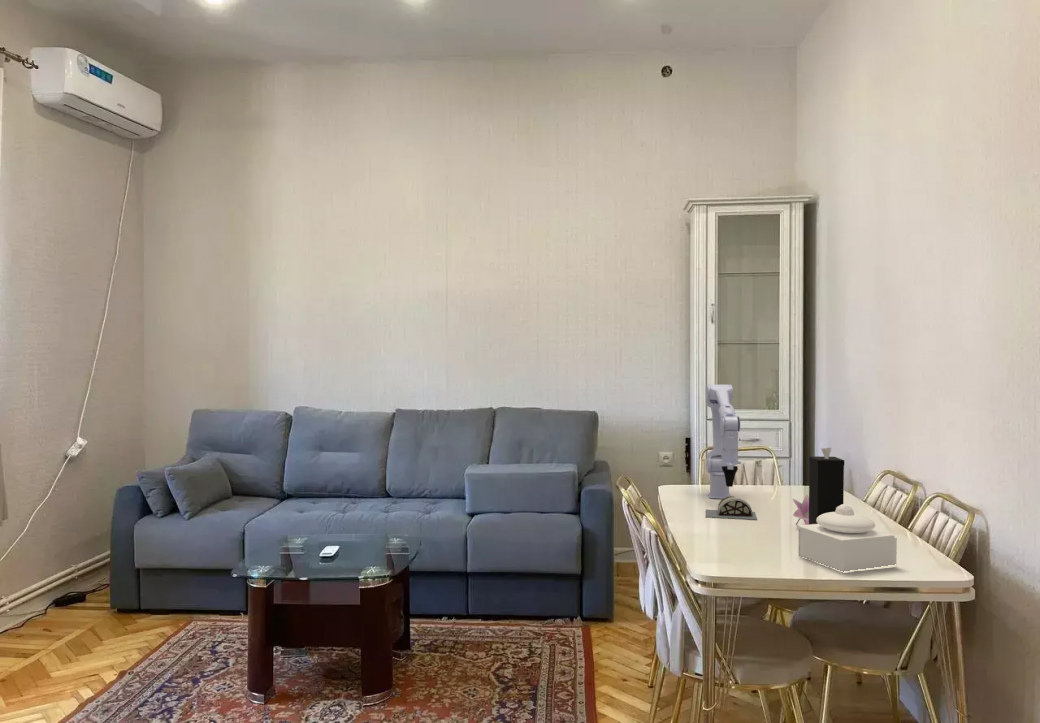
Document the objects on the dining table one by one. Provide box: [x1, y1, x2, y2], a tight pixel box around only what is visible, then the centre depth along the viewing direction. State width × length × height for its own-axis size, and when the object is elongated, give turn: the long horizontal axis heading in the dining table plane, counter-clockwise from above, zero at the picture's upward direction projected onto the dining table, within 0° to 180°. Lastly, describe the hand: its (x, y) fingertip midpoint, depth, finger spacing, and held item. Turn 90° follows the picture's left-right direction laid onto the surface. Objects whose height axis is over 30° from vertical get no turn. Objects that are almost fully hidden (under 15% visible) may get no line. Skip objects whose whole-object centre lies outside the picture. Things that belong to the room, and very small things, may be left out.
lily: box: [792, 494, 809, 526], centre depth 252 cm, size 12×12×10 cm
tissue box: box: [808, 447, 845, 525], centre depth 236 cm, size 8×8×28 cm
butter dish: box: [796, 503, 898, 572], centre depth 211 cm, size 18×18×16 cm
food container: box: [716, 495, 754, 516], centre depth 271 cm, size 12×6×10 cm
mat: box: [705, 509, 758, 521], centre depth 270 cm, size 12×17×1 cm
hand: (729, 486), depth 282 cm, fingers closed
